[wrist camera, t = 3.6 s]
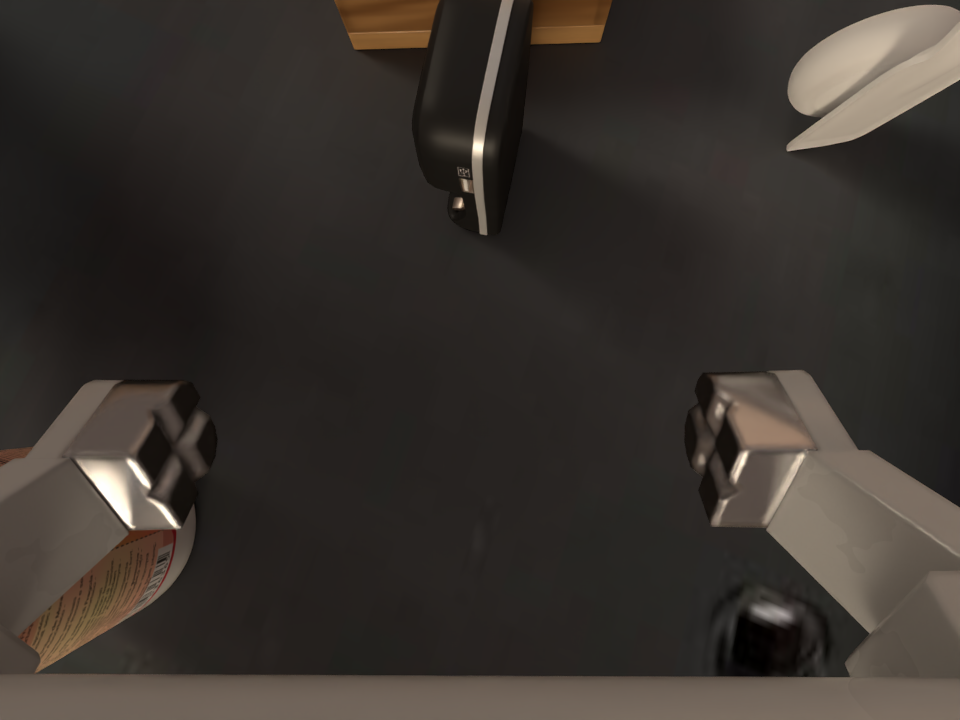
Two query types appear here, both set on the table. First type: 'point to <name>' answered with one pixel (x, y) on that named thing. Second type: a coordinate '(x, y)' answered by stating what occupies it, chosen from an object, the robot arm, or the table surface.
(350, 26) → the step shelf
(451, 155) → the battery charger
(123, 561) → the fruit juice
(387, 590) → the table surface
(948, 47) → the headset
